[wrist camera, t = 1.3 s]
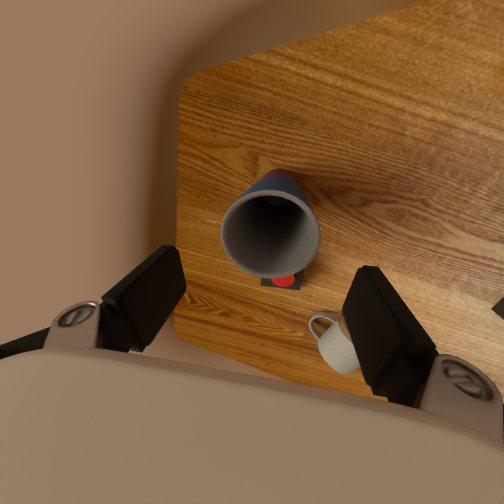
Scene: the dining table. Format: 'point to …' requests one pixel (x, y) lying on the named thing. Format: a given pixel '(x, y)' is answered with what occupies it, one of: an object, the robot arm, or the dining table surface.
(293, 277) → the button
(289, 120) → the dining table surface
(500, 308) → the coffee maker
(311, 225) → the cup
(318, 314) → the ceramic mug
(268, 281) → the pad
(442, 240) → the dining table surface
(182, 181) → the dining table surface
